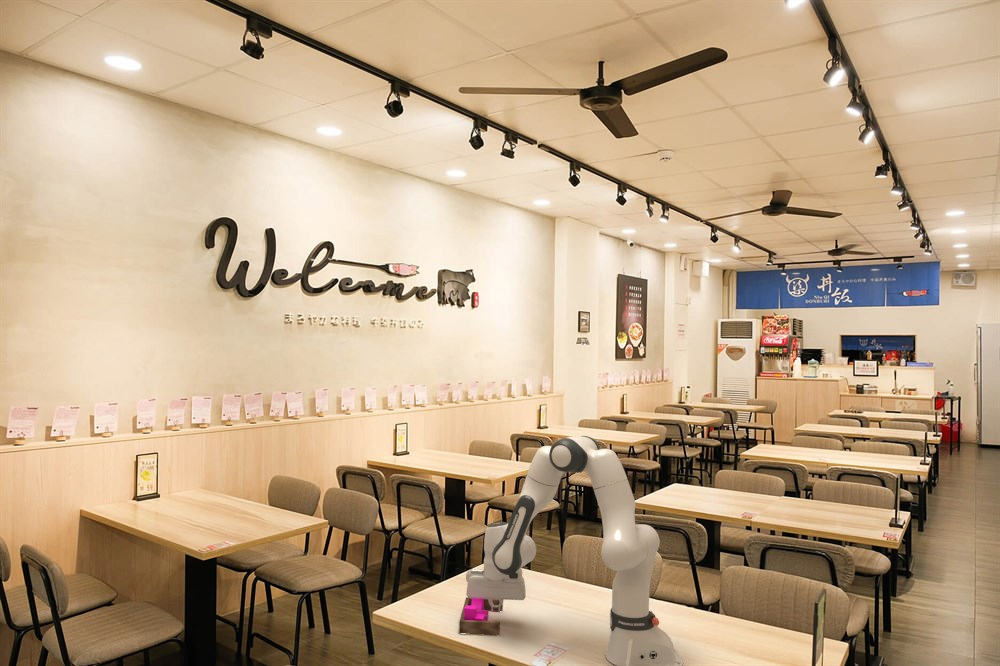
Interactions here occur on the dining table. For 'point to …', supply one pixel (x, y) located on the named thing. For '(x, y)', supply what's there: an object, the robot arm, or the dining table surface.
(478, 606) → the toy block
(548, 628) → the dining table surface
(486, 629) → the walnut bay
